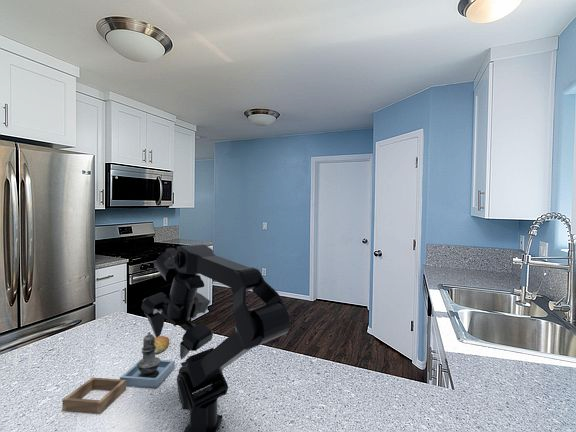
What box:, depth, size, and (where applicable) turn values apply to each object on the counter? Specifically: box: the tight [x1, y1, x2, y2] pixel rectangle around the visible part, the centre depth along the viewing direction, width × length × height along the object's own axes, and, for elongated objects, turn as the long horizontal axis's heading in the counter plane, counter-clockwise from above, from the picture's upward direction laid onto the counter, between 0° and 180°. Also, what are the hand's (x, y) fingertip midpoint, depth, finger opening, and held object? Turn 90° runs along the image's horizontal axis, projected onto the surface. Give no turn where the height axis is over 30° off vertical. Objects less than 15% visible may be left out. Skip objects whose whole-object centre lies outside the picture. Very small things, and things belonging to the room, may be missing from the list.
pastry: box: [154, 335, 170, 355], centre depth 101 cm, size 9×7×4 cm
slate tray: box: [119, 358, 176, 389], centre depth 83 cm, size 10×10×2 cm
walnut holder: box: [61, 377, 127, 415], centre depth 73 cm, size 9×9×2 cm
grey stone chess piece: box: [136, 331, 162, 378], centre depth 83 cm, size 6×6×12 cm
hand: (169, 346), depth 75 cm, fingers open, 9 cm apart
